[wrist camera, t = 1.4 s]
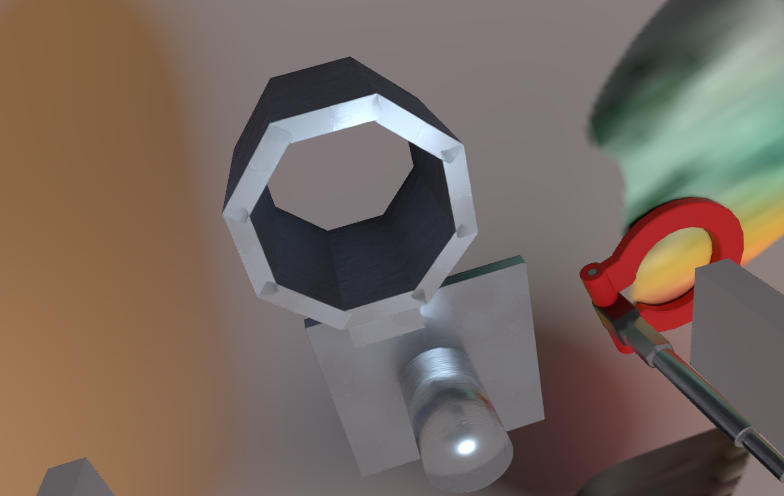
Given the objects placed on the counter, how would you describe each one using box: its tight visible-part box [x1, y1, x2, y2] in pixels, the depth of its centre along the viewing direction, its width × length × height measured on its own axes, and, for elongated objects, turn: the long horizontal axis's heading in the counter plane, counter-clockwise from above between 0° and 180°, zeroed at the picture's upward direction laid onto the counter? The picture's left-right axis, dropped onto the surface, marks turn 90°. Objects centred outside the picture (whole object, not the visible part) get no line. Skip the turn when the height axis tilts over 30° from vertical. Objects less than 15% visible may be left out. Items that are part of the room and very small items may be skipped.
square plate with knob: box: [304, 255, 545, 493], centre depth 30 cm, size 12×12×7 cm
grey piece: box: [222, 57, 478, 349], centre depth 23 cm, size 11×8×7 cm
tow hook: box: [580, 197, 784, 483], centre depth 27 cm, size 8×13×9 cm
